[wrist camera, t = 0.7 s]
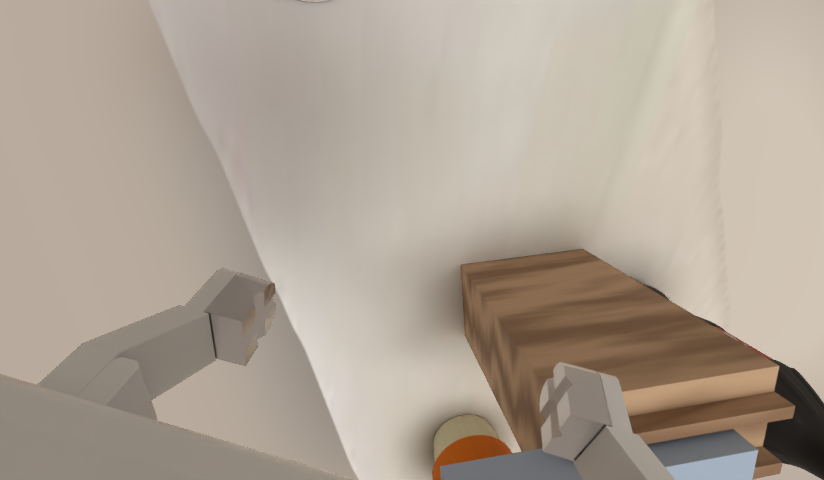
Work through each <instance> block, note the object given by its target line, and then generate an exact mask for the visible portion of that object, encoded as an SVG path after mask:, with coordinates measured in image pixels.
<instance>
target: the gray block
mask: <svg viewBox="0 0 824 480" xmlns="http://www.w3.org/2000/svg"><path fill="white" fill-rule="evenodd" d="M646 445H647V446H648V447H649V448H650V449H651V451H652V452H653V453H654V454H655V456H656V457H657V458H658V459H659V460H660V462H661V463H662V464H663V465H664V467H665V468H666V469H667V470H668V471H669V473H670V474H671V475H672V476H673V478H674V479H675V480H752V479H753V474H754V469H755V464H756V459H757V454H758V449H757V448H755V447H754V446H753V445H752V444H751V443H749V442H748V441H747V440H746V439H745V438H744V437H742V436H741V435H740V434H739V433H738V432H736V431H735V430H734V429H729V430H724V431H718V432H713V433H707V434H701V435H696V436H690V437H685V438H679V439H674V440H668V441H662V442H657V443H651V444H646ZM440 475H441V480H583V479H582V477H581V476H580V474H579V472H578V470H577V468H576V467H575V465H574V461H571V460H568V459H565V458H562V457H559V456H555V455H552V454H549V453H546V452H543V448H541V449H535V450H529V451H524V452H518V453H512V454H507V455H501V456H495V457H490V458H484V459H478V460H473V461H467V462H461V463H456V464H450V465H444V466H440Z"/></svg>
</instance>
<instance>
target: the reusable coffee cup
mask: <svg viewBox="0 0 824 480" xmlns="http://www.w3.org/2000/svg"><path fill="white" fill-rule="evenodd" d="M433 445H434V459H435V464H434V466H433V472H432V474H433V480H441V475H440V466H444V465H450V464H456V463H461V462H467V461H473V460H478V459H484V458H490V457H495V456H501V455H507V454H512V452H511V451H510V449H509V448H508V447H507V445H506V444H505V443H503V442H502V441H501V440H500V439H499V438H498V436H497V434H496V433H495V431H494V430H493V428H492V427H491V425H490V424H489V423H488V422H487V421H486V420H485V419H483V418H481V417H479V416H475V415H460V416H457V417H454V418H452V419H450V420H448V421H447V422H445V423H444V424H443V425H442V426H441V427H440V428H439V429H438V431H437V432H436V435H435V437H434V442H433Z"/></svg>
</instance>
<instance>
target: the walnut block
mask: <svg viewBox="0 0 824 480" xmlns="http://www.w3.org/2000/svg"><path fill="white" fill-rule="evenodd" d="M461 271H462V289H463V308H464V326H465V337H466V339H467V341H468V343H469V345H470V347H471V349H472V351H473V353H474V355H475V357H476V359H477V361H478V363H479V365H480V367H481V369H482V371H483V373H484V375H485V377H486V379H487V381H488V383H489V385H490V387H491V389H492V392H493V394H494V396H495V398H496V400H497V402H498V404H499V406H500V408H501V410H502V412H503V414H504V416H505V418H506V420H507V422H508V424H509V426H510V428H511V430H512V432H513V434H514V436H515V438H516V440H517V442H518V445H519V447H520V449H521V451H522V452H524V451H529V450H535V449H541V448H542V435H541V427H542V426H543V424H544V423H545V419H544V418H543V416H542V415H541V413H540V395H541V391H542V388H543V386H544V384H545V382H546V380H547V379H549V378H552V377H554V372H553V369H554V368H555V366H556V365H557V364H558V363H559V362H563V363H567V364H571V365H575V366H579V367H582V368H586V369H590V370H594V371H596V372H601V373H604V374H608V375H612V376H615V377H617V379H618V380H619V383H620V386H621V390H622V394H623V398H624V401H625V405H626V409H627V413H628V417H629V420H630V424H631V428H632V432H633V433H634V434H637V435H639V436H640V437H641V439H642V440H643V441H644V442H645V443H646V444H651V443H657V442H662V441H668V440H674V439H679V438H685V437H690V436H696V435H701V434H707V433H713V432H718V431H724V430H729V429H734V430H735V431H736V432H738V433H739V434H740V435H741V436H742V437H744V438H745V439H746V440H747V441H748V442H749V443H751V444H752V445H753V446H754V447H755V448H757V449H758V454H757V459H756V464H755V469H754V474H753V479H756V478H760V477H765V476H770V475H775V474H780V471H781V467H782V462H781V461H780V460H779V459H778V458H776V457H775V456H774V455H773V454H771V453H770V452H769V451H768V450H767V449H765V448H764V447H763V442H764V438H765V433H766V428H767V423H768V422H774V421H779V420H785V419H791V418H793V415H794V410H795V405H794V404H792V403H791V402H789V401H788V400H786V399H785V398H783V397H782V396H780V395H779V394H777V393H776V392H774V390H775V385H776V380H777V375H778V370H779V365H777V364H775V363H774V362H772V361H770V360H769V359H767V358H765V357H764V356H762V355H760V354H759V353H757V352H755V351H754V350H752V349H750V348H749V347H747V346H745V345H744V344H742V343H740V342H739V341H737V340H735V339H733V338H732V337H730V336H728V335H727V334H725V333H723V332H722V331H720V330H718V329H717V328H715V327H713V326H712V325H710V324H708V323H707V322H705V321H703V320H702V319H700V318H698V317H696V316H695V315H693V314H691V313H690V312H688V311H686V310H685V309H683V308H681V307H680V306H678V305H676V304H675V303H673V302H671V301H670V300H668V299H666V298H665V297H663V296H661V295H660V294H658V293H656V292H654V291H653V290H651V289H649V288H648V287H646V286H644V285H643V284H641V283H639V282H638V281H636V280H634V279H633V278H631V277H629V276H628V275H626V274H624V273H623V272H621V271H619V270H617V269H616V268H614V267H612V266H611V265H609V264H607V263H606V262H604V261H602V260H601V259H599V258H597V257H596V256H594V255H592V254H591V253H589V252H587V251H586V250H584V249H580V250H572V251H564V252H556V253H549V254H541V255H533V256H525V257H518V258H510V259H502V260H494V261H487V262H479V263H471V264H463V265H461ZM753 479H752V480H753Z"/></svg>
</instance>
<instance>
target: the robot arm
mask: <svg viewBox="0 0 824 480" xmlns="http://www.w3.org/2000/svg"><path fill="white" fill-rule="evenodd" d="M300 1H306V2H322V1H328V0H300ZM274 294H275V284H274V283H272V282H269V281H266V280H263V279H259V278H256V277H253V276H249V275H246V274H243V273H239V272H235V271H232V270H229V269H225V268H222V269H219V270H218V271H216V272H215V274H214V275H213V276H212V277H211V278H210V279H209V280H208V281H207V282H206V283H205V284H204V285H203V287H202V288H201V289H200V290H199V291H198V292H197V293H196V294H195V295H194V296H193V297H192V299H191V300H190V301H189V302H188V303H187V304H186V305H185V306H180V305H178V306H176V307H173V308H171V309H168V310H166V311H163V312H161V313H158V314H156V315H153V316H151V317H148V318H145V319H143V320H140V321H138V322H135V323H133V324H130V325H128V326H125V327H123V328H120V329H118V330H115V331H112V332H110V333H108V334H105V335H102V336H100V337H97V338H95V339H92V340H90V341H87V342H85V343H82V344H81V345H80V346H79V347H78V348H77V349H76V350H75V351H74V352H72V353H71V354H70V355H69V356H68V357H67V358H66V359H65V360H64V361H63V362H61V363H60V364H59V365H58V366H57V367H56V368H55V369H54V370H53V371H52V372H51V373H49V375H47V376H46V377H45V378H44V379H43V380H42V381H41V382H40V383H39V384H38V385H36V384H32V383H29V382H25V381H22V380H19V379H15V378H12V377H8V376H5V375H2V374H0V480H356V479H352V478H349V477H346V476H342V475H339V474H336V473H332V472H329V471H325V470H322V469H318V468H315V467H312V466H309V465H305V464H302V463H298V462H295V461H292V460H288V459H285V458H281V457H278V456H274V455H271V454H268V453H265V452H261V451H258V450H255V449H251V448H248V447H244V446H241V445H238V444H234V443H231V442H228V441H224V440H221V439H217V438H214V437H211V436H207V435H204V434H201V433H197V432H194V431H190V430H187V429H184V428H180V427H177V426H173V425H170V424H167V423H163V422H160V421H157V416H156V413H155V410H154V407H153V404H152V401H151V400H153V399H154V398H156V397H157V396H159V395H161V394H162V393H164V392H165V391H167V390H169V389H170V388H172V387H173V386H175V385H177V384H178V383H180V382H182V381H183V380H185V379H186V378H188V377H190V376H191V375H193V374H194V373H196V372H198V371H199V370H201V369H203V368H204V367H206V366H207V365H209V364H211V363H212V362H213V361H215V360H216V359H220V360H224V361H228V362H232V363H235V364H239V365H243V366H246V365H247V363H248V362H249V360H250V358H251V357H252V355H253V354H254V352H255V351H256V349H257V347H258V345H257V344H258V343H257V339H258V338H260V337H262V336H264V335H266V333H267V331H268V330H269V328H270V326H271V324H272V321H273V319H274V315H275V309H276V308H275V302H274V301H273V300H272V297H273V295H274ZM553 372H554V377H552V378H549V379H547V380H546V382H545V384H544V386H543V388H542V391H541V395H540V413H541V415H542V416H543V418H544V419H545V423H544V424H543V426H542V427H541V435H542V448H543V452H546V453H549V454H552V455H555V456H559V457H562V458H565V459H568V460H571V461H574V465H575V467H576V468H577V470H578V472H579V474H580V476H581V477H582V479H583V480H675V479H674V478H673V476H672V475H671V474H670V473H669V471H668V470H667V469H666V468H665V467H664V465H663V464H662V463H661V462H660V460H659V459H658V458H657V457H656V456H655V454H654V453H653V452H652V451H651V449H650V448H649V447H648V446H647V445H646V443H645V442H644V441H643V440H642V439H641V437H640V436H639V435H637V434H634V433H633V432H632V428H631V424H630V420H629V417H628V413H627V409H626V405H625V401H624V398H623V394H622V390H621V386H620V383H619V380H618V379H617V377H615V376H612V375H608V374H604V373H601V372H596V371H594V370H590V369H586V368H582V367H579V366H575V365H571V364H567V363H563V362H559V363H558V364H557V365H556V366H555V368H554V369H553Z"/></svg>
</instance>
